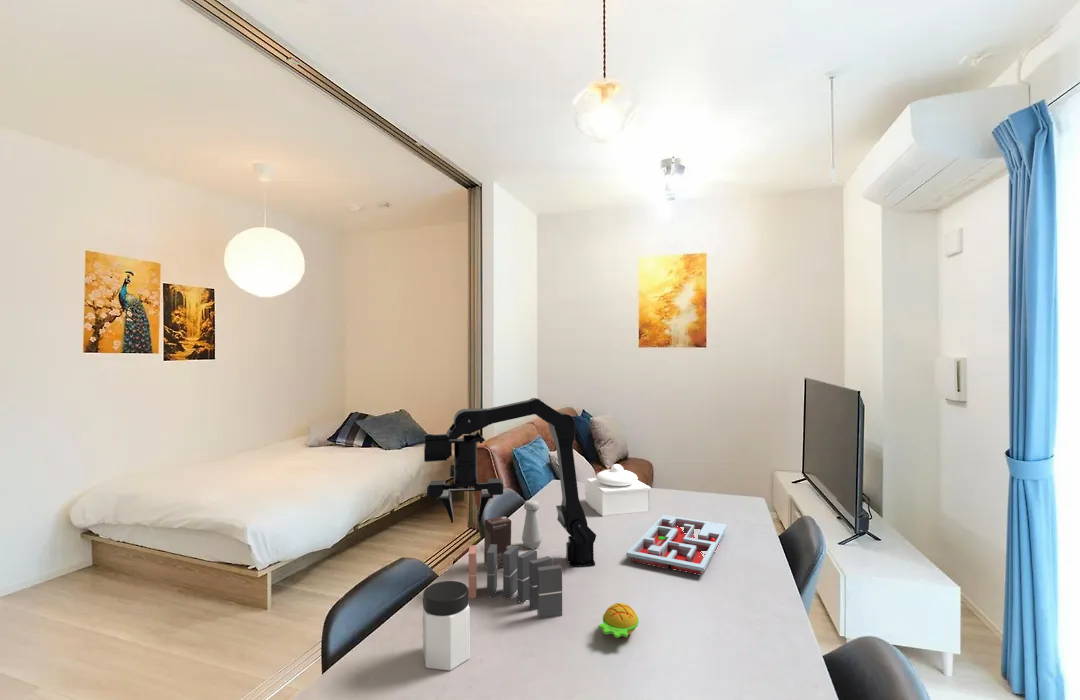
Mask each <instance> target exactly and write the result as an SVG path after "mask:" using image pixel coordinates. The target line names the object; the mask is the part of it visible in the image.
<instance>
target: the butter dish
mask: <svg viewBox="0 0 1080 700" xmlns="http://www.w3.org/2000/svg"><path fill="white" fill-rule="evenodd" d="M638 478H639V477H638V476H637V474H635V473H634V472H632V471H630V470H627V469H624V467H623V466H622V465H621V464H618V463H614V464H612V465H611V467H610V469H609V468H608V469H603V470H601V471H600V472H598V473H596V476H595V478H594V477H593V478H592V477H591V478H586V480H585V483H584V485H585V489H584V490H585V503H586V502H587V503H588V504H587V503H586V504H587V505H589V506H590V507H591V508H592V509H593V510H594V509H595V510H596V511H595V510H594V511H595V512H597V513H598V514H599V515H600V516H601V515H602V516H604V517H612V516H611V515H616V516H623V515H622V514H627V515H632V514H631V513H638V514H641V513H640V512H649V513H650V491H651V490H652V487H651V486H650V485H647V484H646V483H644V482H642V481H640V480H638ZM602 516H601V517H602Z"/></svg>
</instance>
